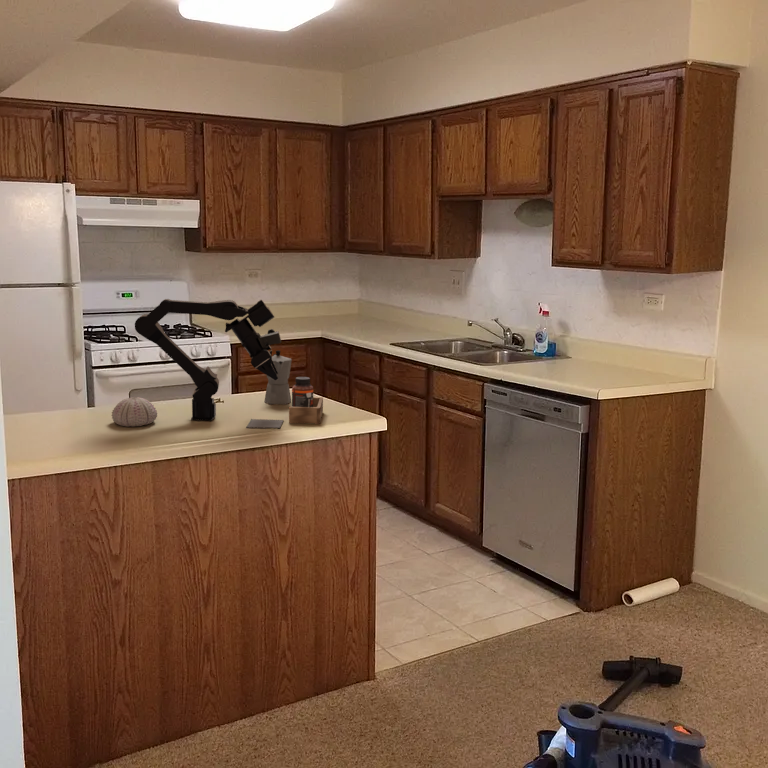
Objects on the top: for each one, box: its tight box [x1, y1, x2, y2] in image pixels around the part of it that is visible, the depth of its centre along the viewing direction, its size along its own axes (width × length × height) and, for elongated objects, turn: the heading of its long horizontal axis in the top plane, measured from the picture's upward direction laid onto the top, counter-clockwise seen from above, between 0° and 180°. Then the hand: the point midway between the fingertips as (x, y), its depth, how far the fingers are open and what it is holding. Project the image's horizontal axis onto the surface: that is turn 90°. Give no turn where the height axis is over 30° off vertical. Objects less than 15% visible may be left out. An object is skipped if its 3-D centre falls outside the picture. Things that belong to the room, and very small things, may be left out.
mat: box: [245, 418, 284, 429], centre depth 254 cm, size 10×10×1 cm
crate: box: [288, 396, 324, 425], centre depth 265 cm, size 10×16×5 cm, turn 1°
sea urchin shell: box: [111, 396, 158, 428], centre depth 251 cm, size 13×14×8 cm
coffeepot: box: [264, 349, 293, 405], centre depth 286 cm, size 15×9×18 cm, turn 15°
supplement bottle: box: [291, 376, 314, 407], centre depth 264 cm, size 7×7×13 cm
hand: (276, 376), depth 261 cm, fingers open, 9 cm apart
